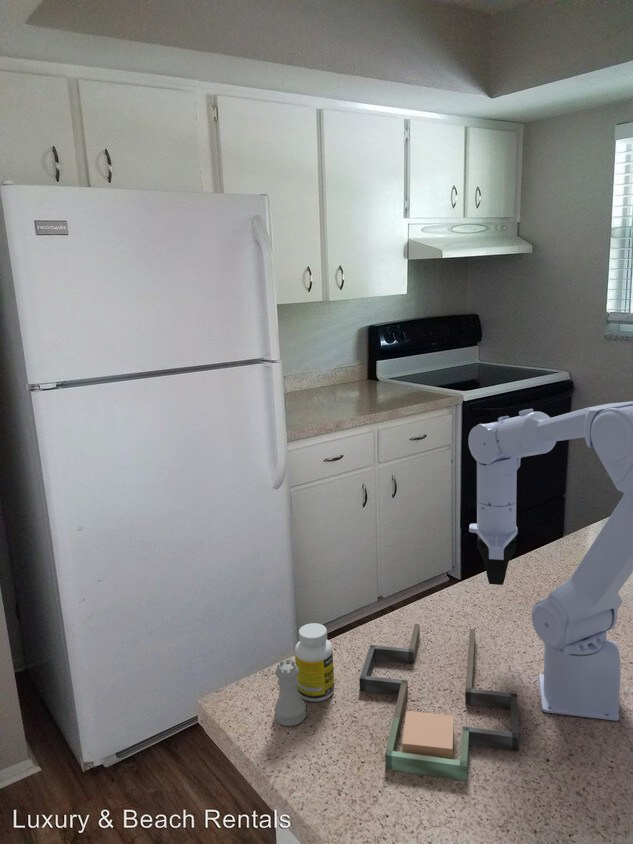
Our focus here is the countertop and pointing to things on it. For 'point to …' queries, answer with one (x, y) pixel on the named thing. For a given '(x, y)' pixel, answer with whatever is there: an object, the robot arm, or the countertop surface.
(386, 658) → the box
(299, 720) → the rook chess piece
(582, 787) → the countertop surface
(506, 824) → the countertop surface
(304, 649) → the supplement bottle
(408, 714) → the light orange-tan block
